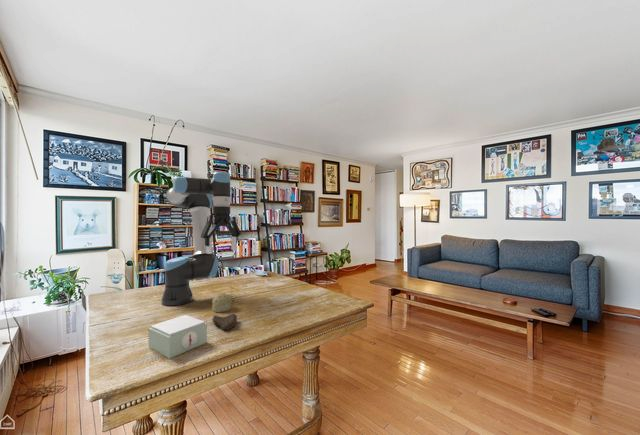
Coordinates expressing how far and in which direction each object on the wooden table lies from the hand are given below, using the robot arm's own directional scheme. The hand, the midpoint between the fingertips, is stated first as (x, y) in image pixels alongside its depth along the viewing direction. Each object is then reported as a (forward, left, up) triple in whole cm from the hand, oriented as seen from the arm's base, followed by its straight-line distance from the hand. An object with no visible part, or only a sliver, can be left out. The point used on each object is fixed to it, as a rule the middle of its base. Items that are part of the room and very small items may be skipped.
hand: (222, 251), depth 128 cm
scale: (+9, -26, -31) cm, 41 cm away
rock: (+6, -10, -31) cm, 33 cm away
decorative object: (-8, +4, -31) cm, 33 cm away
